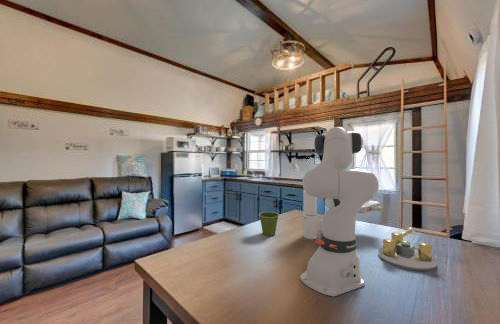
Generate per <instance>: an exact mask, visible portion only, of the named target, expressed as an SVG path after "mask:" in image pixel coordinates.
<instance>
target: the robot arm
mask: <svg viewBox="0 0 500 324" xmlns="http://www.w3.org/2000/svg"><path fill="white" fill-rule="evenodd" d="M363 144H364V140H363V137H362V134H361V133H359V132H358V131H354V130H353V131H347V129H345V128H343V127H342V126H336V127H335V126H334V127H331V128H330V129H329V130H328V131H327V132H326V133H321V134H317V135H316V136H315V138H314V141H313V149H314V150H315V152H316V154H317V155H320V156H322V159H321V161H320V162H319V164H318V165H316V166H315V167H313V168H312V169H310V170H308V171H306V172H305V174H304V175H303V177H302V184H301V185H302V188H303V191H305V192H306V193H307V194H308V195H310V196H314V197H317V199H318V198H319V199H323V203H324V205H325V206H326V207H327V208H328V209H327V210H326V211H325V212H324V213H323V215H322V234H321V235H320V238H318V237H317V238H316V239H315V241H314V242H315V244H316V245H319V247H318V248H317V250H316V251H315V252H314V253H313V255H312V256H311V257H310V259H309V260H308V262H307V268H306V270H305V271H304V272H303V273H301V274H300V276H299V279H300V281H301V282H302V283H303V284H305V286H307V287H309V288H310V289H312V290H314V291H315V292H318V293H320V294H323V295H326V296H330V297H336V296H339V295H342V294H344V293H347V292H350V291H353V290H356V289H358V288H361V287H365V280H364V279H363V278H362V271H361V260H360V257H359V256H358V254H357V251H356V250H357V244H358V243H357V237H356V222H357V216H358V214H368V213H371V212H383V211H384V207H383V206H381V202H380V201H376V200H372V199H373V198H374V197H375V196H376V195H377V193H378V191H379V187H380V186H379V185H380V184H379V179H378V178H377V176H376V174H374V173H373V172H372V171H368V170H364V169H357V168H349V167H350V166H351V164H352V162H353V159H354V158H353V155H354V154H358V153H360V152H361V151H362V148H363Z"/></svg>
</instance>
